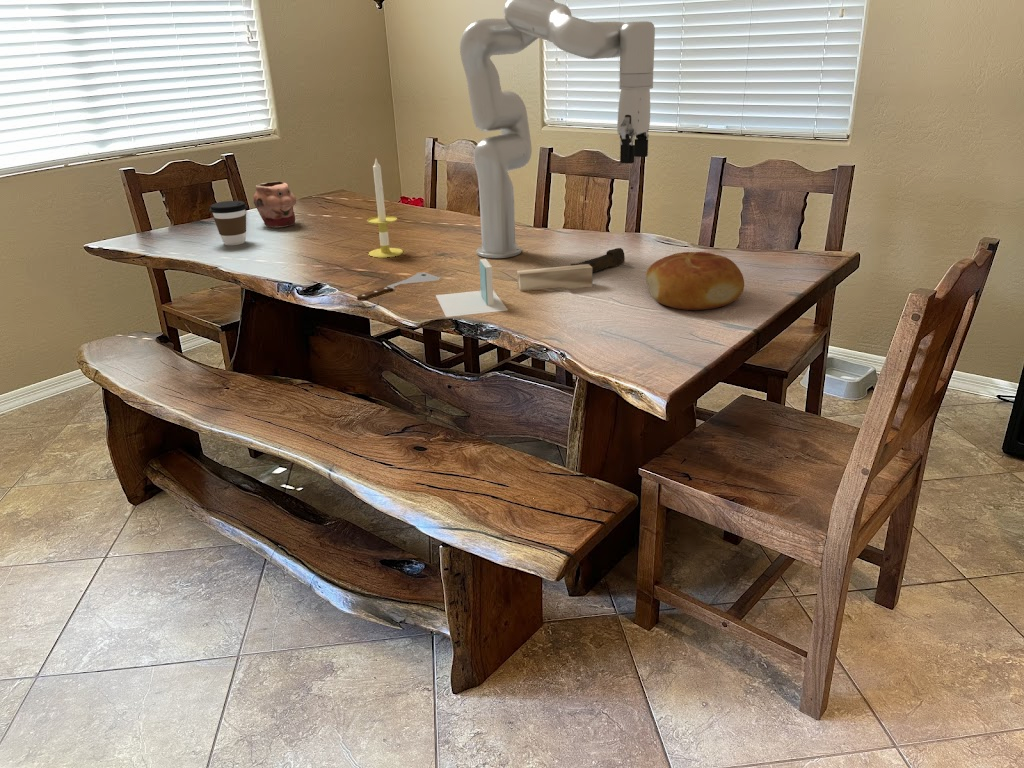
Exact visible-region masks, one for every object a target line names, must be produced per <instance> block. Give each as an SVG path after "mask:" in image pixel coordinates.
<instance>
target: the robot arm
mask: <svg viewBox="0 0 1024 768" xmlns="http://www.w3.org/2000/svg"><path fill="white" fill-rule="evenodd" d="M503 16H504V18H484V19H478V20H476V21H473V22H472V23H470V24H469V25H468V26H467V27H466V28H465V29H464V31H463V33H462V36H461V38H460V43H459V54H460V60H461V64H462V67H463V69H464V73H465V78H466V82H467V91H468V96H469V102H470V107H471V109H470V110H471V114H472V120H473V123H474V125H475V127H476V128H477V129H478V130H479V131H481V132H495V131H500V135H493V136H490V137H486V138H483V139H482V140H480V141H479V142H478V143H477V144H476V146H475V148H474V150H473V162H474V168H475V170H476V174H477V175H476V176H477V182H478V183H477V184H478V194H479V197H478V198H479V214H480V215H479V216H480V231H481V233H480V235H481V237H480V238H481V246H479V247H477V249H476V254H477V256H479V257H481V258H484V259H486V258H487V259H506V258H512V257H516V256H518V255H520V254H521V253H522V248H521V246H520V245H517V243H516V218H515V214H516V213H515V190H514V185H513V182H512V180H511V178H510V175H509V172H510V171H514V170H517V169H521V168H523V167H525V166H526V165H527V164H528V163H529V162H530V161H531V157H532V151H533V150H532V148H533V147H532V140H531V133H530V125H529V119H528V113H527V108H526V107H527V106H526V104H525V103H524V100H523V99H522V97H521V96H520V95H519V94H518V93H516V92H514V91H511V90H510V91H509V90H508V91H507V90H504V91H502V87H501V80H500V74H499V72H498V69H497V68H496V66H495V64H494V62H493V60H492V59H491V57H492V56H500V55H501V56H503V55H504V56H505V55H514V54H518V53H519V52H522V51H523V50H525V49H526V48H527V47H528V46H530V45H532V44H533V43H534V42H535V41H537V40H538V39H542V40H544V41H548V42H551V43H552V44H553V45H554V46H556V47H557V48H558V49H559V50H561V51H563V52H565V53H568V54H572V55H574V56H577V57H581V58H584V59H588V60H597V59H600V60H601V59H605V58H606V59H610V58H619V82H618V84H619V86H618V87H619V88H618V89H619V90H620V93H619V100H618V110H617V123H616V124H617V126H616V129H617V131H616V133H617V135H619V139H620V141H619V145H620V149H619V151H620V152H619V153H620V155H619V162H620V163H621V164H634V163H635V157H636V158H646V157H648V155H649V135H650V134H649V130H650V125H651V89H653V88H654V68H655V66H654V65H655V64H654V63H655V61H654V60H655V40H656V39H655V37H656V35H655V34H656V28H655V24H654V23H653V22H651V21H647V20H646V21H645V20H644V21H627V22H623V21H588V20H586V19H582V18H578V17H575V16H573V14H572V11H571V9H570V7H569V6H567V5H566V4H563V3H560V2H557V1H555V0H507V1H506V2H505V5H504V8H503Z"/></svg>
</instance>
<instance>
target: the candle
mask: <svg viewBox="0 0 1024 768" xmlns="http://www.w3.org/2000/svg"><path fill="white" fill-rule="evenodd" d="M372 170H373V181H374V188H375V189H374V192H375V200H376V201H375V202H376V207H377V208H376V209H377V216H373V217H369V218H367V220H366V222H367V223H368V224H372V225H378V232H379V233H378V235H379V243H380V244H379V245H380V248H375V249H374V250H372V249H371V251H369V252H368V253H369V254H367V256H369V255H370V256H373V257H372V258H374V257H378V258H377V259H388V258H387V257H390V258H395V256H396V257H398V256H401V255H402V254H404V250H403V249H401V248H397V247H390V240H389V239H390V237H389V230H388V229H389V228H388V224H392V223H395V222H397V221H398V217H396V216H392V215H387V214H386V207H385V206H386V205H385V196H384V186H383V177H382V175H383V174H382V166H381V164H380V163H379V162H378V159H377V158H375V160H374V164H373V165H372ZM370 256H369V257H370Z"/></svg>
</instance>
